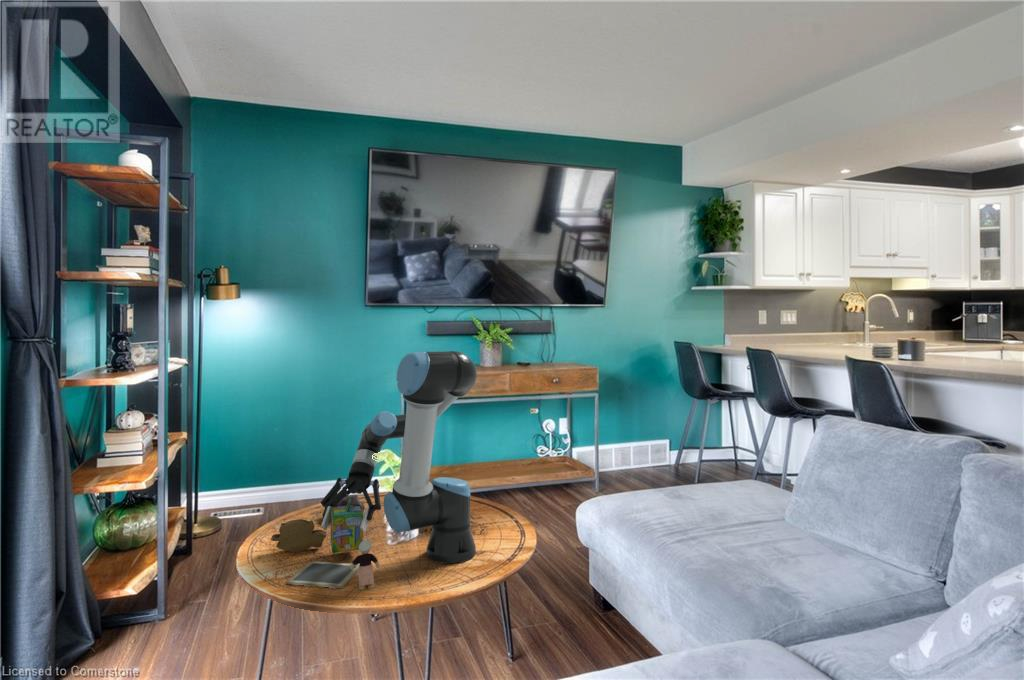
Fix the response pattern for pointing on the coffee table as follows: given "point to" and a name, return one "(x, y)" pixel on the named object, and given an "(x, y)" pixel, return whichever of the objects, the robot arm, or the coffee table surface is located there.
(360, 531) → the chalk box
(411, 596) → the coffee table surface
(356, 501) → the rock
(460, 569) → the coffee table surface
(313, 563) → the chalkboard
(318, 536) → the wooden carving
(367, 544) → the grandmother figurine
